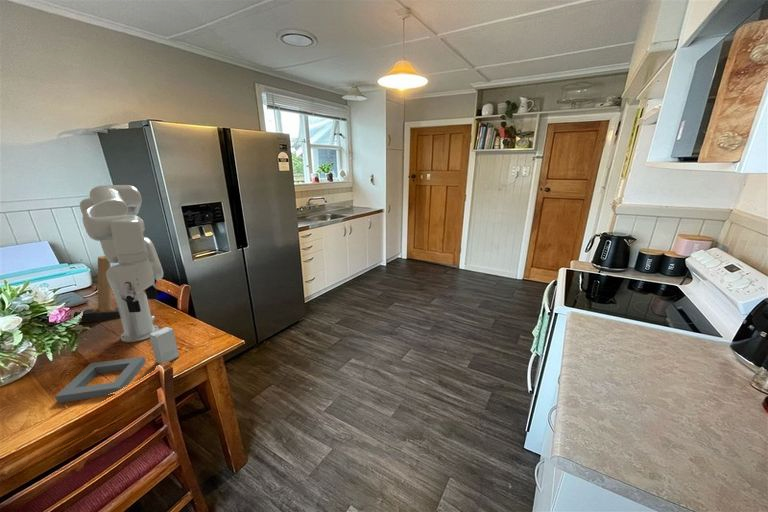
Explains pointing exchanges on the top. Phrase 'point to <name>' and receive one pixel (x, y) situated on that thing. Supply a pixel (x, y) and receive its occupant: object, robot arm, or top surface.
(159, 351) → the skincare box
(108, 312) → the hammer
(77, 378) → the socket block
